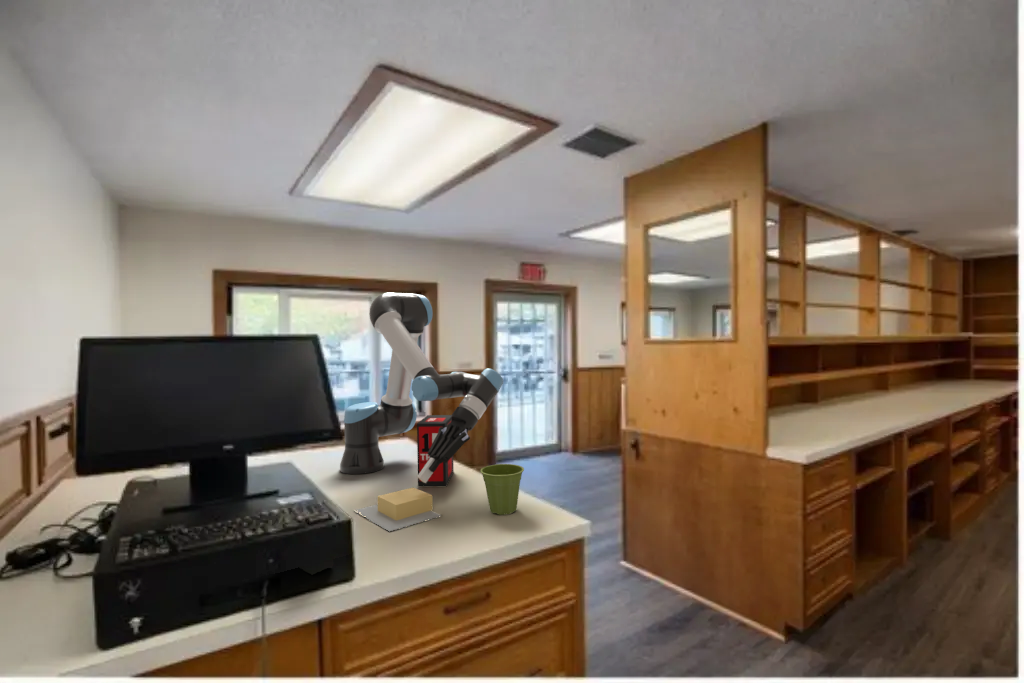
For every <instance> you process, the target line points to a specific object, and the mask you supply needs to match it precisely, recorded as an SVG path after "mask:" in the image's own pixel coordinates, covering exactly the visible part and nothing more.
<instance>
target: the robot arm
mask: <svg viewBox="0 0 1024 683" xmlns="http://www.w3.org/2000/svg"><path fill="white" fill-rule="evenodd" d="M369 319H370V322H371V325H372V327H373V328H374V330H375V331H376V333H378V334H381V335H382V336H383V337H384V339H385V340H386V342H387V344H388V345H389V347H390V349H391V357H390V365H389V372H388V378H387V386H386V391H385V394H384V395H382V396H381V399H380V403H379V404H378V402H376V401H366V402H360V403H355V404H352V405H349V406H348V407H347V408H345V410H344V418H343V422H344V450H343V454H342V457H341V460H340V463H339V464H340V465H339V471H340V472H341V473H343V474H348V475H349V474H350V475H362V474H370V473H375V472H378V471H381V470H382V469H384V468H385V465H384V463H385V460H384V458H383V455H382V452H381V450H380V446H379V437H386V436H392V435H399V434H403V433H407V432H409V431H410V430H412V429H413V428H414V426H415V424H416V422H417V417H418V412H417V411H416V410H417V409H416V408H417V407H416V406H415V404H414V403H413V400H412V398H411V397H410V393H411V392H412V396H413V397H414V398H415V399H416V400H417V401H419V402H432V401H435V400H437V401H438V400H444V399H453V398H454V399H455V398H460V397H463V399H462V400H461V401H460V403H459V404H458V406H457V407H456V408H455V409H454V411H453V412H452V414H450V415H451V418H452V421H451V422H450V423H449V424H448V425H447V427H445V428H442V427H440V428H439V431H438V434H437V436H436V438H435V440H434V442H433V443H432V445H431V447H430V449H429V451H428V453H427V454H428V455H429V456H430V458H429V460H428V461H427V463H426V464H425V465H424V467H423V469H422V470H421V472H420V473H419V474H418V473H417V475H416V477H417V479H418V478H419V479H420V480H421V481H422V482H424V483H426V482H427V481H428V479H429V478H430V476H431V475H432V474H433V472H434V471H435V470H436V469H437V467H438V466H439V464H441V463H442V462H445V463H447V462H448V461H449V460H450V458H451V457H452V456H453V457H454V455H456V453H458V451H459V450H460V449H461V447H462V446H464V444H465V443H467V442H468V441H469V440H470V439H471V437H470V436H469V435H468V433H469V431H472V430H473V429H474V428H475V426H476V425H477V423H478V422H479V421H478V420H480V419H481V418H482V416H483V415H484V413H485V412H486V411H487V408H488V407H489V406H490V404H491V403H492V401H493V400H494V398H495V397H496V396H497V395H498V393H499V392H500V390H501V388H502V386H503V384H504V378H503V376H501V374H500V373H499V372H498V371H497V370H494V369H492V368H484V369H483V371H481V373H480V374H472V373H467V372H464V371H452V372H451V373H447V374H446V373H445V374H444V373H443V374H439V373H438V372H437V369H436V368H435V367H434V366H433V365H432V364H431V362H430V360H429V359H428V358H427V356H426V354H424V352H423V350H422V349H421V348H420V346H419V345H418V340H419V337H420V336H421V335H422V334H423V333H424V330H425V327H427V326H429V324H430V323H431V322H432V319H433V307H432V304H431V302H430V300H429V299H428V298H427V297H426V296H425V295H423V294H417V293H407V292H406V293H404V292H403V293H402V292H390V291H389V292H384V293H381V294H379V295H378V296H376V297H375V298H374V300H373V301H372V303H371V305H370V308H369Z"/></svg>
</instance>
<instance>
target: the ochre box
mask: <svg viewBox="0 0 1024 683" xmlns="http://www.w3.org/2000/svg"><path fill="white" fill-rule="evenodd" d="M377 504H378V511H379V512H381V513H383V514H385V515H387V516H389V517H390V518H392V519H394V520H396V521H397V520H400V519H403V518H407V517H410V516H414V515H417V514H421V513H424V512H428V511H433V505H434V504H433V495H432V494H430V493H428V492H425V491H423V490H420V489H418V488H415V487H414V486H412V487H409V488H405V489H401V490H398V491H393V492H387V493H384V494H380V495H377Z"/></svg>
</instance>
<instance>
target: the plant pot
mask: <svg viewBox="0 0 1024 683" xmlns="http://www.w3.org/2000/svg"><path fill="white" fill-rule="evenodd" d="M479 470H480V471H479V472H480V473H481V474H482V478H483V482H484V484H485V485H484V486H485V490H486V495H487V501H488V506H489V511H490V513H491V514H497V515H501V516H504V515H510V514H512V513H514V512H516V511H517V509H518V501H519V493H520V487H521V486H520V484H521V480H522V475H523V472H524V470H525V468H524V467H523V466H521V465H518V464H513V463H497V464H492V465H487V466H483V467H481V468H480V469H479Z"/></svg>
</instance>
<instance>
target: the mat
mask: <svg viewBox="0 0 1024 683" xmlns="http://www.w3.org/2000/svg"><path fill="white" fill-rule="evenodd" d="M356 510H358V513H359V512H361V514H362V515H363V516H366V518H367V519H369V520H370V521H369V520H368V521H369V522H371V521H372V522H371V523H373V524H374V523H375V524H374V525H376V524H377V525H376V526H378V525H379V526H381V527H382V528H381V527H380V528H381V529H383V528H384V529H383V530H385V529H386V530H388V531H389V532H388V531H387V532H388V533H391V532H390V531H392V532H394V531H393V530H395V531H398V530H397V529H399V528H402V529H404V528H403V527H405V528H407V527H406V526H408V527H411V526H410V525H412V526H414V525H413V524H415V525H417V524H416V523H418V524H420V523H419V522H422V521H425V520H428V519H431V520H433V519H432V518H435V519H437V518H436V517H438V518H440V517H439V516H441V517H442V515H441V514H438V513H437V512H434V511H433V510H431V511H428V512H424V513H421V514H417V515H414V516H410V517H407V518H403V519H400V520H397V521H396V520H394V519H392V518H390V517H389V516H387V515H385V514H383V513H381V512H379V511H378V503H376V504H373V505H369V506H365V507H361V508H357V509H356ZM366 518H365V519H366ZM367 519H366V520H367ZM428 521H429V520H428ZM425 522H426V521H425ZM422 523H423V522H422ZM379 526H378V527H379ZM386 530H385V531H386ZM399 530H400V529H399Z"/></svg>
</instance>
